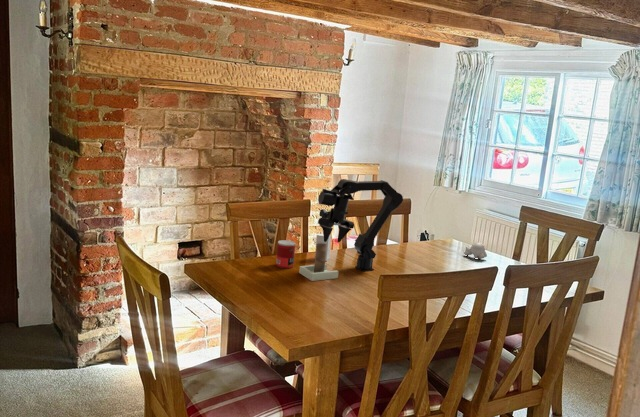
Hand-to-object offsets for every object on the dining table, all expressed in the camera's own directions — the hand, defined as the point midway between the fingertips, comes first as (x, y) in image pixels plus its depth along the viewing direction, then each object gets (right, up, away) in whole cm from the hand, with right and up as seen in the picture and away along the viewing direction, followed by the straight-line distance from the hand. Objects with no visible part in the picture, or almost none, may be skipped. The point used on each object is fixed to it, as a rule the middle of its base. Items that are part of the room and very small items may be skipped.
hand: (331, 241), depth 257 cm
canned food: (-21, -11, +3) cm, 24 cm away
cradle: (-6, -14, -6) cm, 16 cm away
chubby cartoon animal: (+75, -11, +44) cm, 87 cm away
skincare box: (-4, -10, +18) cm, 21 cm away
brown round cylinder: (-6, -13, -6) cm, 16 cm away
